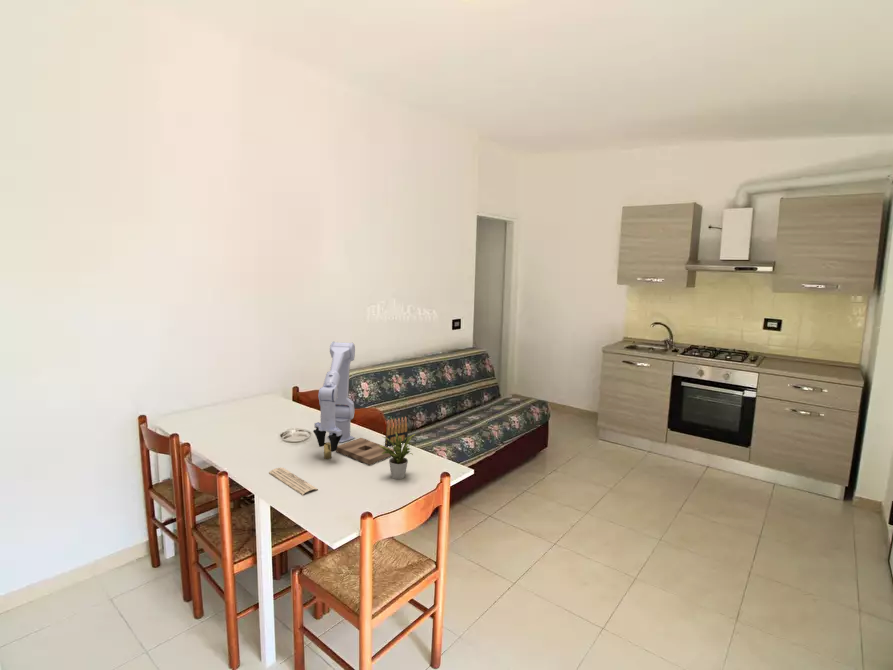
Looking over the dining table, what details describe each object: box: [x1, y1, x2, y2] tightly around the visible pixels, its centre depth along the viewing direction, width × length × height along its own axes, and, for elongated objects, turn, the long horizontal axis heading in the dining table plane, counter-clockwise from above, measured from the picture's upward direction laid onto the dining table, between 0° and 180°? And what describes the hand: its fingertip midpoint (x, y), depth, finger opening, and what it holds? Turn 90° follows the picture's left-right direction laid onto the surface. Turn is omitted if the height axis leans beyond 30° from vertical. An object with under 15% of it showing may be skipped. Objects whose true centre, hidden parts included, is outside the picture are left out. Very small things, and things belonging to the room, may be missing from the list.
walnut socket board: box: [335, 437, 395, 466], centre depth 204 cm, size 20×14×2 cm
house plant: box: [379, 433, 416, 480], centre depth 185 cm, size 14×14×16 cm
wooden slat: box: [268, 467, 319, 496], centre depth 177 cm, size 24×7×2 cm, turn 47°
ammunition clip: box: [384, 416, 409, 448], centre depth 215 cm, size 11×2×12 cm, turn 127°
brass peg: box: [323, 441, 333, 460], centre depth 198 cm, size 3×3×6 cm
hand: (327, 448), depth 198 cm, fingers open, 7 cm apart
